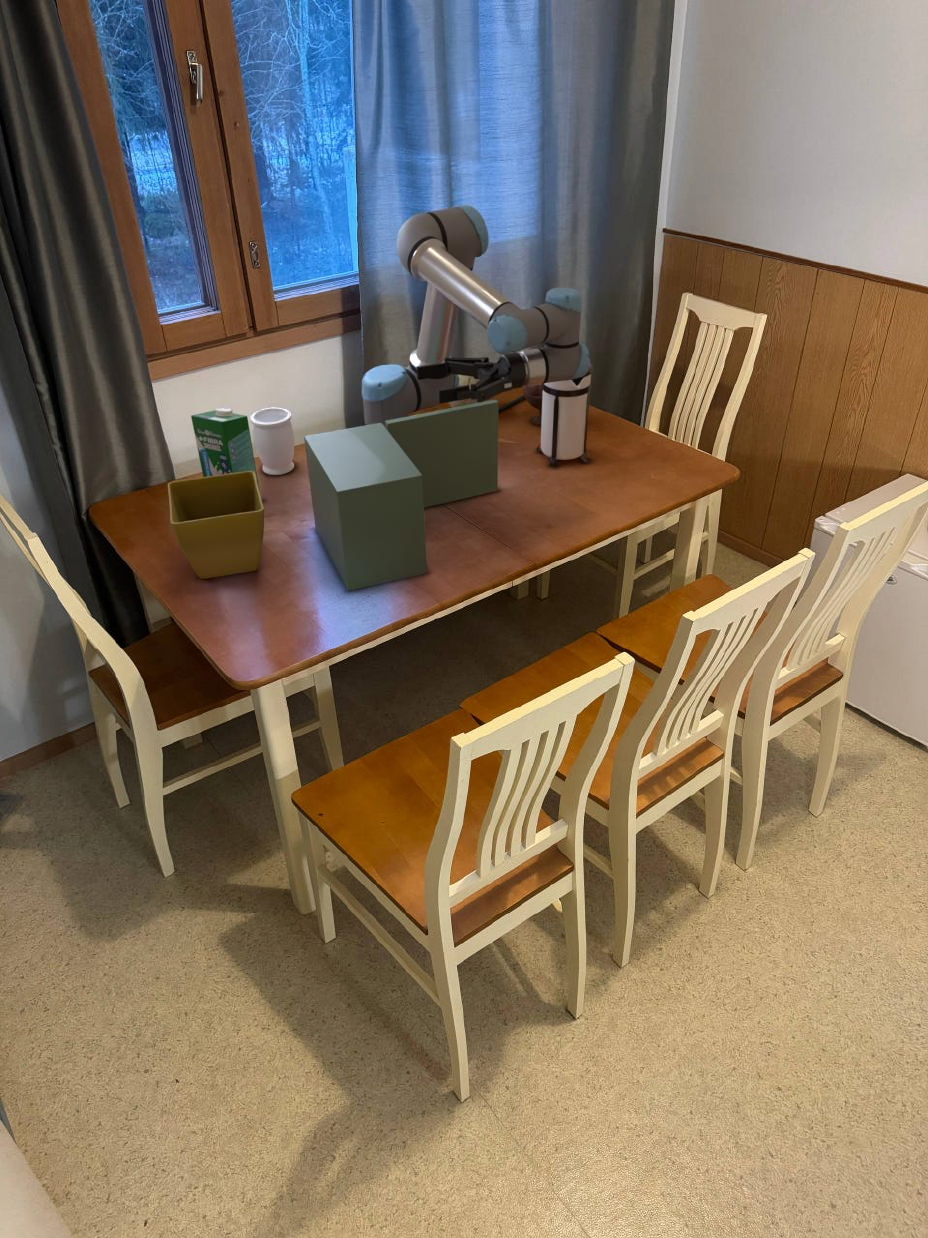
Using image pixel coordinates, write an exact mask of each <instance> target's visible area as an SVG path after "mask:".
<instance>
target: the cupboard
mask: <svg viewBox="0 0 928 1238" xmlns="http://www.w3.org/2000/svg"><path fill="white" fill-rule="evenodd" d="M303 440H304V447H305V456H306V463H307V473H308V479H309V487H310V488H309V489H310V495H311V504H312V512H313V520H314V527H315V528H314V529H315V531H316V533H317V535H318V536H319V539H320V541H321V542H322V545H323V547H324V548H325V550H326V552H327V554H328V556H329V558H330V560H331V562H332V564H333V565H334V567H335V569H336V571H337V573H338V575H339V577H340V579H341V581H342V583H343V585H344V587H345V588H346V591H347V592H350V591H354V590H359V589H364V588H368V587H371V586H372V587H373V586H376V585H380V584H385V583H390V582H395V581H398V580H404V579H408V578H411V577H417V576H420V575H425V574H427V573H428V571H427V568H428V567H427V548H426V547H427V546H426V528H425V527H426V525H425V523H426V522H425V508H424V500H423V480H422V479H423V478H422V474H421V473H420V472H419V470H418V469H417V468H416V466H415V465H414V464H413V463H412V461H411V460H410V459H409V457H408V456H407V455H406V454H405V452H404V451H403V450H402V448H401V447H400V446H399V445H398V443H397V442H396V441H395V439H394V438H393V437H392V436H391V434H390V433H389V432H388V430H387V429H386V428H385V427H384V425H383V424H382V423H376V424H371V425H365V424H364V425H360V426H354V427H349V428H343V429H336V430H331V431H324V432H320V433H319V432H318V433H313V434H307V435H303Z"/></svg>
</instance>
